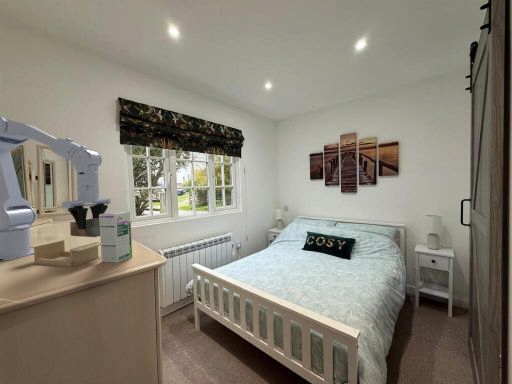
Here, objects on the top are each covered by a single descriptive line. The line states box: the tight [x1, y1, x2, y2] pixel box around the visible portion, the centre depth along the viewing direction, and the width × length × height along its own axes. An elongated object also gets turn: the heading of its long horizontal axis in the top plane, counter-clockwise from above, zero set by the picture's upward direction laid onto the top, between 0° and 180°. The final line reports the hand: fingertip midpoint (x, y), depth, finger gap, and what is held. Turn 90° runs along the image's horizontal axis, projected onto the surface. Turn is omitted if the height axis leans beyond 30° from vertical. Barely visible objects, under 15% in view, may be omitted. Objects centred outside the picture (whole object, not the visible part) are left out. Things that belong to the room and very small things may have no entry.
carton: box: [26, 239, 101, 268], centre depth 66 cm, size 20×8×5 cm, turn 76°
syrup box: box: [99, 210, 133, 264], centre depth 66 cm, size 6×6×14 cm
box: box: [69, 217, 100, 238], centre depth 72 cm, size 10×4×6 cm, turn 77°
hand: (89, 227), depth 72 cm, fingers closed on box, 4 cm apart
